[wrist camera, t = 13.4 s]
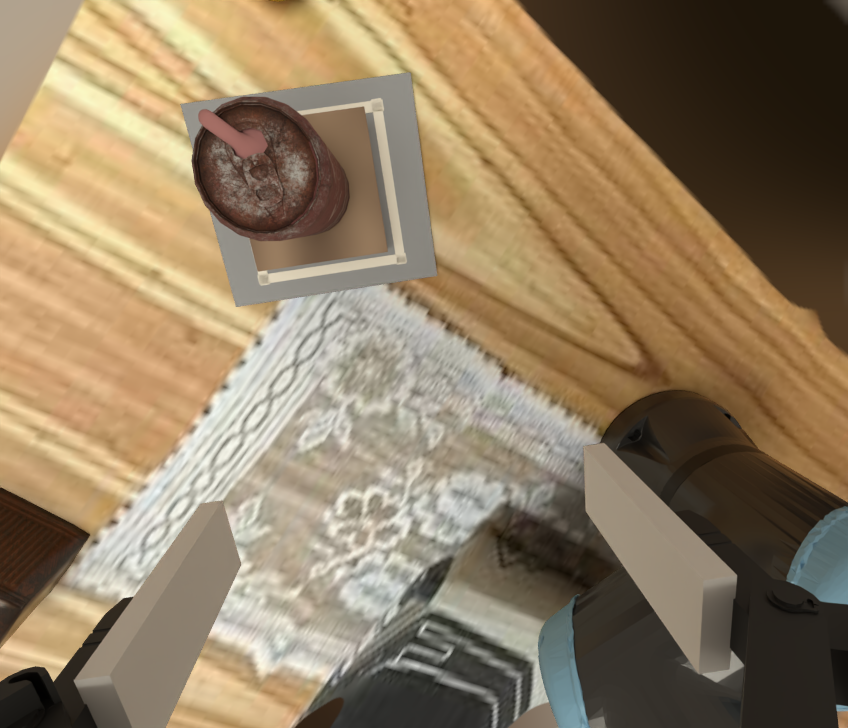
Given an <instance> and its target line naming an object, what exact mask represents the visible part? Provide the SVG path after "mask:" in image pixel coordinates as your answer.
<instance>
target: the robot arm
mask: <svg viewBox="0 0 848 728" xmlns="http://www.w3.org/2000/svg"><path fill="white" fill-rule="evenodd" d="M583 450H584V479H585V508H586V512H587V514H588V515H589V517H590V518H591V520H592V521H593V523H594V524H595V525H596V527H597V528H598V530H599V531H600V533H601V534H602V536H603V537H604V538H605V540H606V541H607V543H608V544H609V546H610V547H611V549H612V550H613V551H614V553H615V554H616V556H617V557H618V559H619V560H620V562H621V563H622V564H623V567H622V568H620V569H619V570H617V571H616V572H614V573H613V574H611V575H610V576H608V577H607V578H605V579H604V580H602V581H601V582H600V583H598V584H597V585H595V586H594V587H592V588H591V589H589V590H588V591H586V592H585V593H583V594H582V595H579V594H578V595H576V596H574V597H573V598H572V599H571V601H570V603H569V604H568V605H566V606H565V607H564V608H562V609H561V610H560V611H559V612H557V613H556V614H555V615H553V616H552V617H551V618H550V619H548V620H547V621H546V622H545V624H544V625H543V627H542V629H541V631H540V635H539V642H538V651H539V656H538V657H539V665H540V670H541V675H542V679H543V683H544V687H545V690H546V694H547V697H548V700H549V703H550V706H551V709H552V711H553V714H554V716H555V719H556V722H557V724H558V727H559V728H839V727H838V718H837V711H848V503H847V502H846V501H844V500H842V499H841V498H839V497H837V496H836V495H834V494H832V493H831V492H829V491H827V490H826V489H824V488H822V487H821V486H819V485H817V484H815V483H814V482H812V481H810V480H809V479H807V478H805V477H804V476H802V475H800V474H799V473H797V472H795V471H794V470H792V469H790V468H789V467H787V466H785V465H784V464H782V463H780V462H779V461H777V460H775V459H773V458H772V457H770V456H768V455H767V454H765V453H764V452H762V451H760V450H759V449H758V448H757V446H756V445H755V444H754V443H753V441H752V440H751V439H750V437H749V436H748V435H747V434H746V432H745V431H744V430H743V429H742V428H741V427H740V425H739V423H738V422H737V421H736V419H735V418H734V417H733V416H732V415H731V414H730V413H729V412H728V411H727V410H726V409H724V408H723V407H722V406H720V405H718V404H716V403H715V402H713V401H711V400H709V399H707V398H706V397H704V396H701V395H699V394H696V393H692V392H687V391H667V392H661V393H657V394H654V395H651V396H648V397H646V398H644V399H642V400H640V401H638V402H636V403H635V404H633V405H632V406H630V407H629V408H627V409H626V410H625V411H624V412H623V413H621V414H620V415H619V416H618V417H617V418H616V419H615V421H614V422H613V423H612V424H611V425H610V427H609V428H608V430H607V431H606V433H605V435H604V437H603V439H602V441H601V443H600V444H594V445H587V446H583ZM240 566H241V562H240V558H239V555H238V551H237V548H236V545H235V541H234V538H233V535H232V531H231V528H230V525H229V521H228V518H227V514H226V511H225V508H224V504H223V501H215V502H209V503H202V504H200V506H199V507H198V508H197V510H196V511H195V513H194V514H193V515H192V517H191V518H190V519H189V521H188V522H187V524H186V525H185V526H184V528H183V529H182V531H181V532H180V533H179V535H178V536H177V538H176V539H175V540H174V542H173V543H172V545H171V546H170V547H169V549H168V550H167V551H166V553H165V554H164V556H163V557H162V558H161V560H160V561H159V563H158V564H157V565H156V567H155V568H154V570H153V571H152V572H151V574H150V575H149V577H148V578H147V579H146V581H145V582H144V584H143V585H142V586H141V588H140V589H139V590H138V592H137V593H136V595H135V596H134V597H129V598H123V599H122V600H121V601H120V602H119V603H118V604H116V605H115V606H114V607H113V608H112V609H111V610H109V611H108V612H107V613H106V614H105V615H104V617H103V618H102V619H101V620H100V622H99V623H98V624H97V626H96V627H95V628H94V630H93V633H92V634H90V635H89V636H88V638H87V639H86V640H85V641H84V643H83V644H82V645H83V646H82V647H81V648H79V649H78V651H77V652H76V653H75V655H74V656H73V657H72V659H71V660H70V661H69V662H68V664H67V665H66V666H65V668H64V669H63V670H62V672H61V673H60V674H59V676H58V677H57V678H56V680H55V681H54V682H53V681H52V679H51V677H50V675H49V673H48V672H47V670H46V669H45V668H44V667H32V668H27V669H23V670H21V671H19V672H17V673H15V674H13V675H10V676H8V677H7V678H5V679H4V680H2V681H1V682H0V728H166V726H167V723H168V721H169V719H170V717H171V715H172V713H173V710H174V708H175V706H176V704H177V702H178V700H179V698H180V695H181V693H182V691H183V689H184V687H185V685H186V682H187V680H188V678H189V676H190V674H191V672H192V669H193V667H194V665H195V663H196V661H197V659H198V657H199V654H200V652H201V650H202V648H203V646H204V644H205V641H206V639H207V637H208V635H209V633H210V631H211V629H212V626H213V624H214V622H215V620H216V618H217V616H218V613H219V611H220V609H221V607H222V605H223V603H224V600H225V598H226V596H227V594H228V592H229V590H230V588H231V585H232V583H233V581H234V579H235V577H236V575H237V572H238V570H239V568H240Z"/></svg>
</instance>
